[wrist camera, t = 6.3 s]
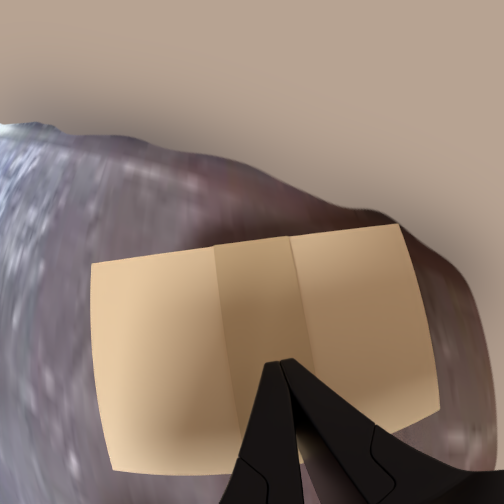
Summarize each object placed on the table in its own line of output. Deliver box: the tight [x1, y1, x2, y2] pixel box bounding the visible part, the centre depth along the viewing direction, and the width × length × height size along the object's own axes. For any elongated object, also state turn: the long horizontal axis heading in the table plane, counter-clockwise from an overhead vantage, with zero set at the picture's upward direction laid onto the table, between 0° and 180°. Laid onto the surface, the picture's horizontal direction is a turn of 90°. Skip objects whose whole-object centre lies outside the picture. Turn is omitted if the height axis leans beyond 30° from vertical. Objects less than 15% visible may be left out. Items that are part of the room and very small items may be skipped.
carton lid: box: [91, 224, 440, 475], centre depth 10 cm, size 9×14×1 cm, turn 99°
